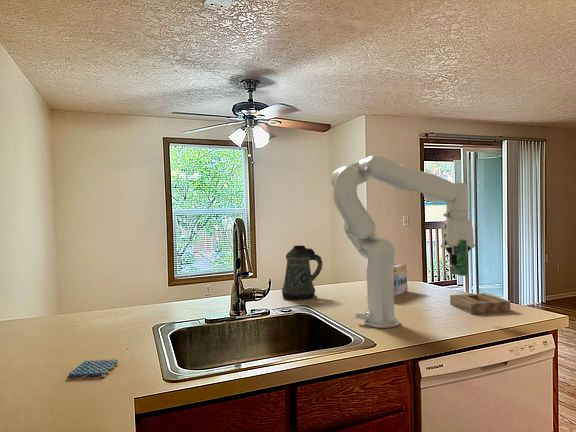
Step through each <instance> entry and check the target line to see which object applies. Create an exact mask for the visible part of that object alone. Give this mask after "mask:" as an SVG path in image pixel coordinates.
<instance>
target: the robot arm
mask: <svg viewBox="0 0 576 432" xmlns="http://www.w3.org/2000/svg"><path fill="white" fill-rule="evenodd" d="M371 180H376V181H379V182H382V183H383V184H387V185H389V186H390V187H394V188H396V189H398V190H402V191H406V192H407V191H408V192H417V193H421V194H423V198H424V199H425V200H426V201H427V202H429V203H431V204H440V203H446V211H445V212H444V213H443V217H445V218H446V219H445V220H444V225H443V232H442V233H443V234H442V242H441V244H440V248H441V249H443V250H445V251H446V252H447V253H448V254H449V264H450V263H451V265H457V258H456V255H455V246H458V241H459V240H466V242H467V255H468V254H469V251H471V250H472V249H473V248H476V244H475V239H474V227H473V223H472V219H470V218H469V186H468V183H466V182H451V181H450V180H448V179H445V178H443V177H441V176H438V175H436V174H432V173H430V172H426V171H422V170H419V169H416V168H412V167H411V168H410V167H409V166H406V165H403V164H401V163H398V162H396V161H394V160H392V159H389V158H387V157H385V156H382V155H379V154H373V155H372V154H371V155H369V156H367V157H365V158H362V159H361V160H358V161H357V162H354V163H351V164H348V165H344V166H341V167H339V168H337V169H336V170H334V171H333V172H332V174H331V176H330V183H331V186H332V187H333V189H332V190H333V193H332V195H333V201H334V205H335V207H336V209H337V211H338V212H339V214H340V216H341V217H342V219H343V220H344V221H343V230H344V232H345V234H346V236H347V238H348V239H349V240H350V242H351V243H352V245H353V246H354V248H355V249H356V250H357V251H358V253H359V254H360V256H361V257H362V258H363V259H365V260H367V267H366V290H367V293H366V294H367V295H366V296H367V309H365V311H363V312H357V313H355V314H354V317H355V319H356V320H357V319H360V320H363V323H364V324H365V325H366V326H367V327H368V326H369V327H372V328H380V329H389V328H394V327H397V326H399V325H400V319H398V318H397V317H396V316H395V296H394V283H393V265H394V264H395V263H394V262H395V258H396V257H395V256H396V255H395V254H396V251H395V248H394V245H393V243H392V241H390V240H389V239H387V238H385V237H382V236H377V234H376V233H375V232H376V229H377V228H376V227H377V226H376V222H375V221H374V219H373V218H372V216H371V215H370V214H369V212H368V210H367V209H366V207H364V205H363V203H362V200H360V198H359V196H358V192H357V191H358V185H360V184H364V183H365V182H369V181H371Z"/></svg>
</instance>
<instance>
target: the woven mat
mask: <svg viewBox="0 0 576 432" xmlns="http://www.w3.org/2000/svg"><path fill="white" fill-rule="evenodd" d="M118 365H119V360H118V359H116V358H115V359H107V360H104V359H102V360H98V359H97V360H93V359H92V360H84V361H83V362H82V363H80V365H79V364H78V366H77V367H76V368H74V370H71V372H69V373H68V374H67V377H66V380H69V381H70V380H72V381H73V380H85V379H86V380H91V379H92V380H93V379H95V380H96V379H105V378H106V377H107V376H108V375H110V374H111V372H113V371H114V369H116V367H118Z"/></svg>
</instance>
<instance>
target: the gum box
mask: <svg viewBox="0 0 576 432" xmlns="http://www.w3.org/2000/svg"><path fill="white" fill-rule="evenodd" d="M393 283H394V297H396V296H399V295H401V294H405V293H406V292H408V291H409V289H408V274H407V264H404V265H403V264H396V263H394V265H393Z"/></svg>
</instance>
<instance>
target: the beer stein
mask: <svg viewBox="0 0 576 432" xmlns="http://www.w3.org/2000/svg"><path fill="white" fill-rule="evenodd" d="M285 259H286V269H285V275H284V282H283V285H282V287H281V294H282V298H283V299H284V300H288V301H307V300H310V299H314V298H315V293H316V288H315V287H314V286H315V285H314V282H313V281H314V280H315V279H316V278H317V277H318V276H319V274H321V271H322V269H323V261H322V257H321V256H320V255H318V254H316V253H315V251H314V250H313V248H307V247H306V246H305V245H294V246H293V248H291V250H289V251H288V252H287V253H286V254H285ZM310 261H316V263H317V266H316V269H315V271H314V272H313V273H311V264H310V263H311V262H310Z"/></svg>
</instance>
